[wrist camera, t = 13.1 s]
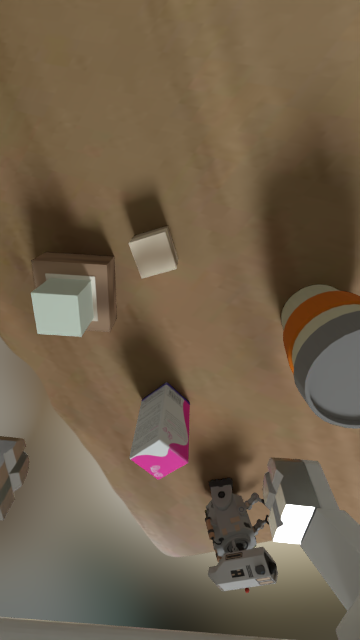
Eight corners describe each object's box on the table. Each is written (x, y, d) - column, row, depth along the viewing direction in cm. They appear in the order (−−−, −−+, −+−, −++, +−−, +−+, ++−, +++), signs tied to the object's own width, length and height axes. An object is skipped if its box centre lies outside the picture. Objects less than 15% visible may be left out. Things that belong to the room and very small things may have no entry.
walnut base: (45, 252, 41) (30, 260, 37) (114, 256, 41) (106, 265, 37) (53, 314, 45) (41, 327, 41) (116, 318, 45) (109, 332, 41)
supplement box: (140, 400, 51) (127, 458, 41) (166, 380, 49) (160, 437, 39) (164, 420, 53) (158, 482, 42) (191, 403, 51) (191, 462, 41)
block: (134, 235, 40) (128, 243, 36) (167, 225, 39) (165, 231, 35) (146, 268, 41) (141, 278, 37) (178, 258, 41) (176, 268, 37)
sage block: (49, 277, 38) (30, 292, 33) (91, 280, 38) (77, 295, 33) (54, 315, 40) (37, 333, 36) (93, 317, 40) (81, 336, 36)
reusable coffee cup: (251, 303, 43) (279, 365, 29) (339, 252, 39) (416, 296, 26) (292, 367, 47) (332, 446, 34) (374, 326, 44) (456, 396, 30)
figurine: (267, 503, 61) (289, 598, 48) (209, 510, 63) (214, 603, 49) (261, 471, 57) (283, 565, 44) (200, 480, 59) (203, 572, 45)
